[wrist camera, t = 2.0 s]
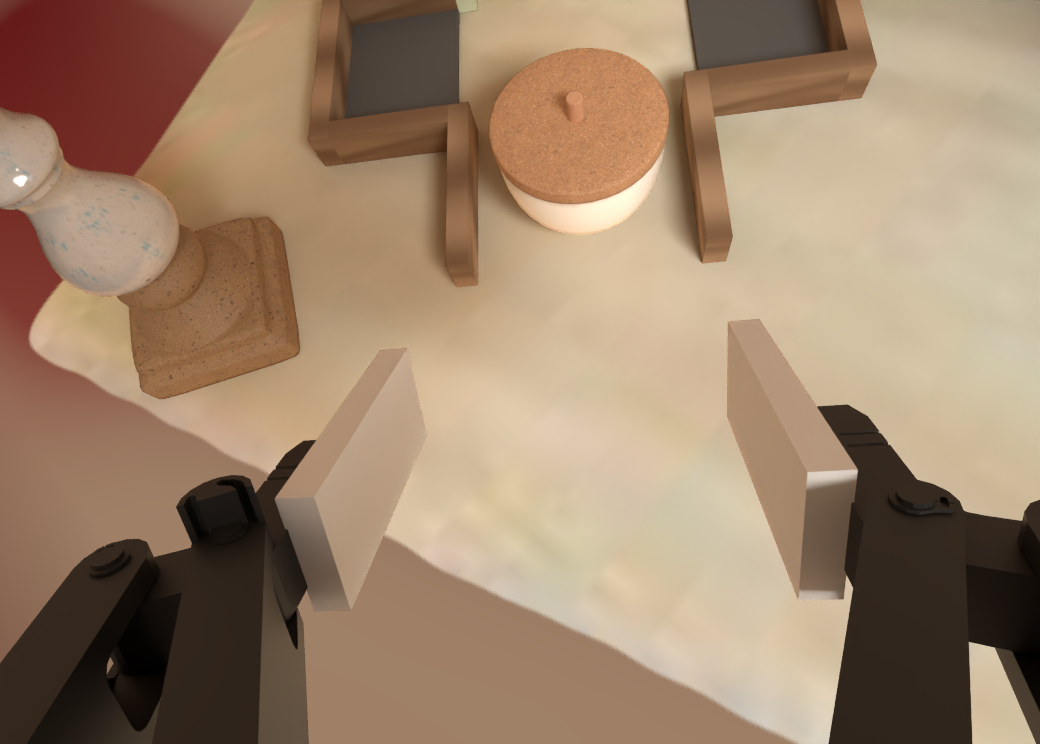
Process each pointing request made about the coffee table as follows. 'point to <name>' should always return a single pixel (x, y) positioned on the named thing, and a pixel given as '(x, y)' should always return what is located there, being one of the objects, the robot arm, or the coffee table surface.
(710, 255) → the track
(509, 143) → the lidded jar
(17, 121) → the candle holder
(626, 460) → the coffee table surface
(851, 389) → the coffee table surface
